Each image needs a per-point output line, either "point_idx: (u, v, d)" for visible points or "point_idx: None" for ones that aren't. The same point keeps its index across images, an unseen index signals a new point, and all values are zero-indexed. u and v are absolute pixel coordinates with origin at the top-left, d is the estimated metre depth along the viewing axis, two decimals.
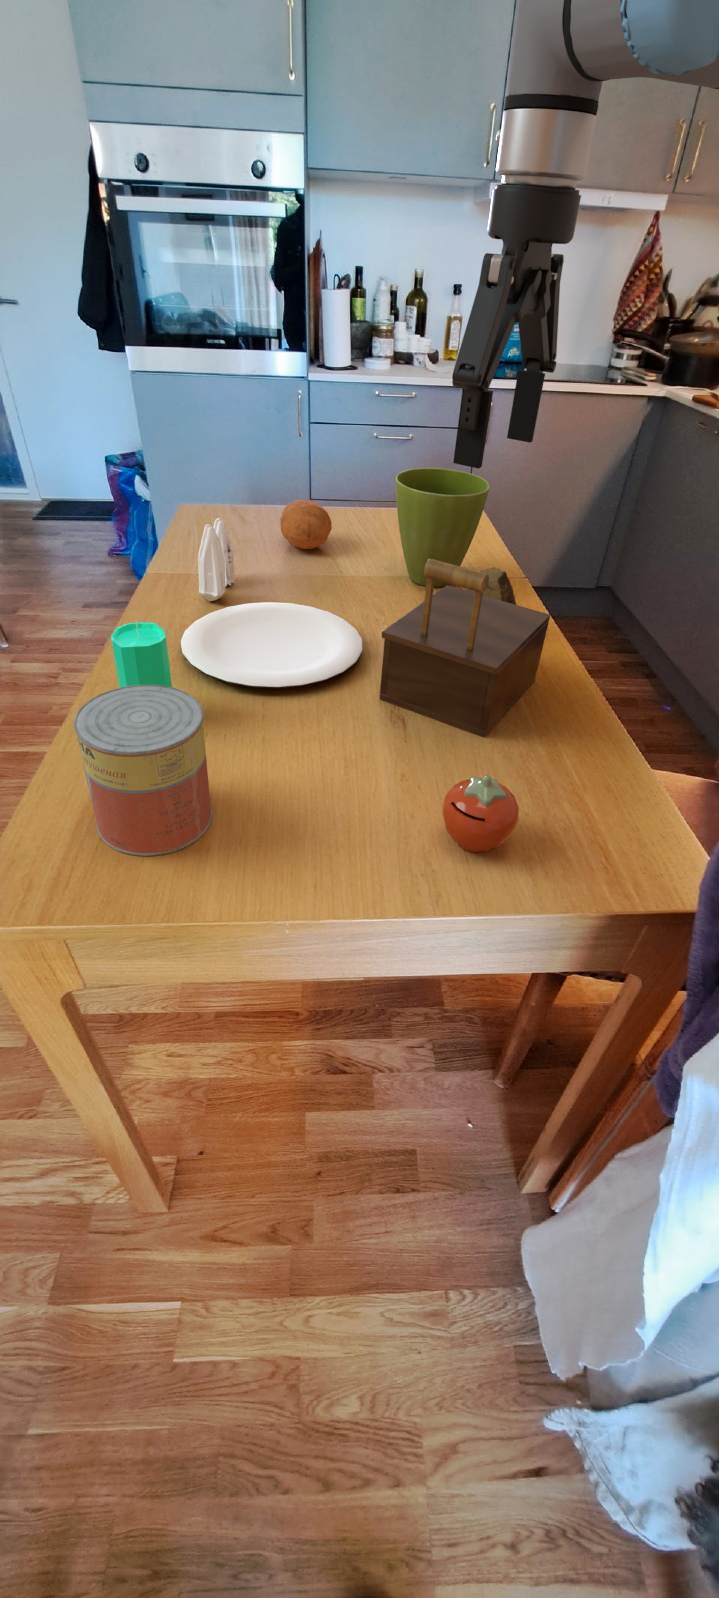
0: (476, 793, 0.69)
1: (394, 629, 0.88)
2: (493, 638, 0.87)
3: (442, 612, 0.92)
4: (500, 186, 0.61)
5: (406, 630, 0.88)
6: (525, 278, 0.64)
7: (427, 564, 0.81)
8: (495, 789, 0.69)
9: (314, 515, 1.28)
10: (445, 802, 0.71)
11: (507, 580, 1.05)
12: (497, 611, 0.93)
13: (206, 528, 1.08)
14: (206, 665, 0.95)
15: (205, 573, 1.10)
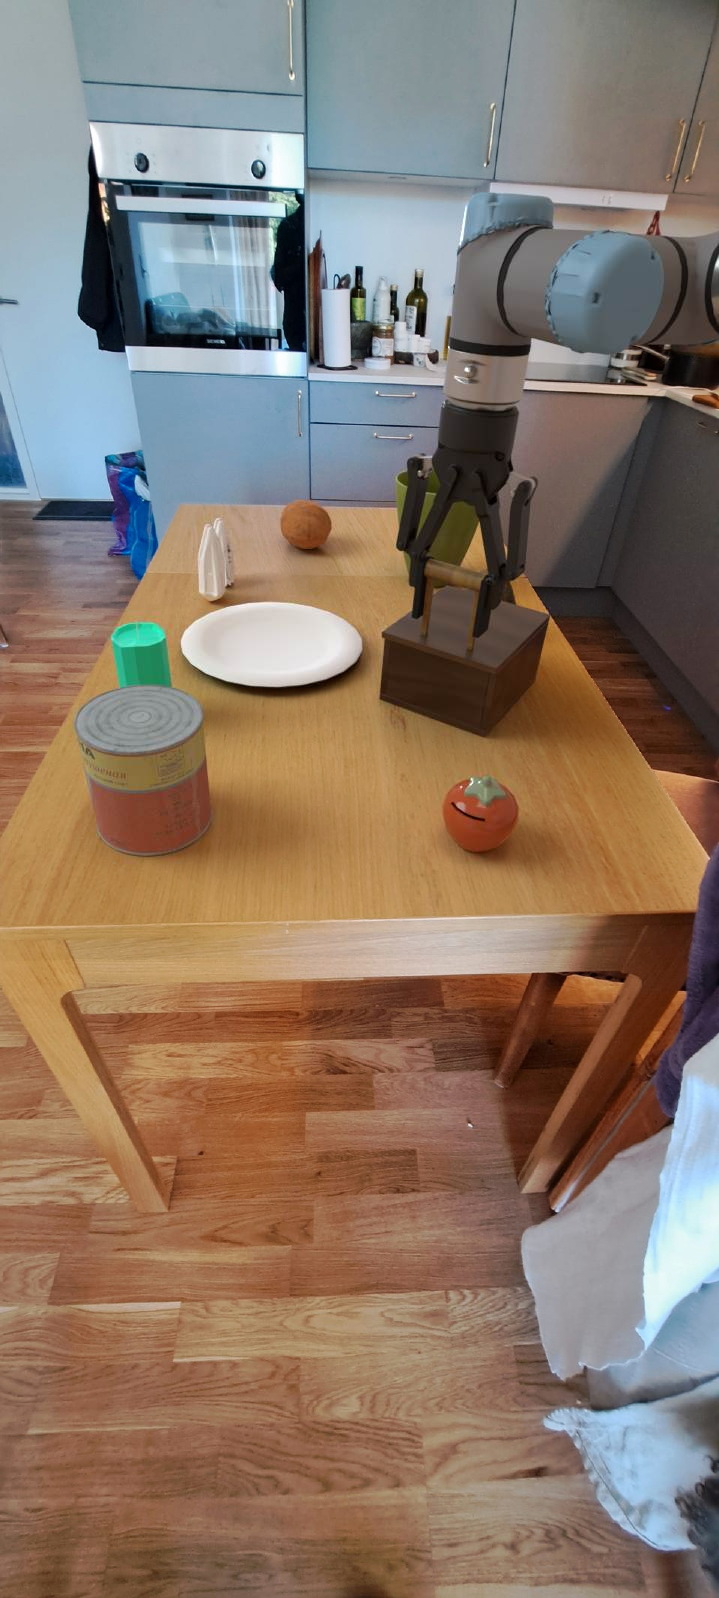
0: (476, 793, 0.69)
1: (394, 629, 0.88)
2: (493, 638, 0.87)
3: (442, 612, 0.92)
4: (497, 414, 0.68)
5: (406, 630, 0.88)
6: None
7: (427, 564, 0.81)
8: (495, 789, 0.69)
9: (314, 515, 1.28)
10: (445, 802, 0.71)
11: (507, 580, 1.05)
12: (497, 611, 0.93)
13: (206, 528, 1.08)
14: (206, 665, 0.95)
15: (205, 573, 1.10)
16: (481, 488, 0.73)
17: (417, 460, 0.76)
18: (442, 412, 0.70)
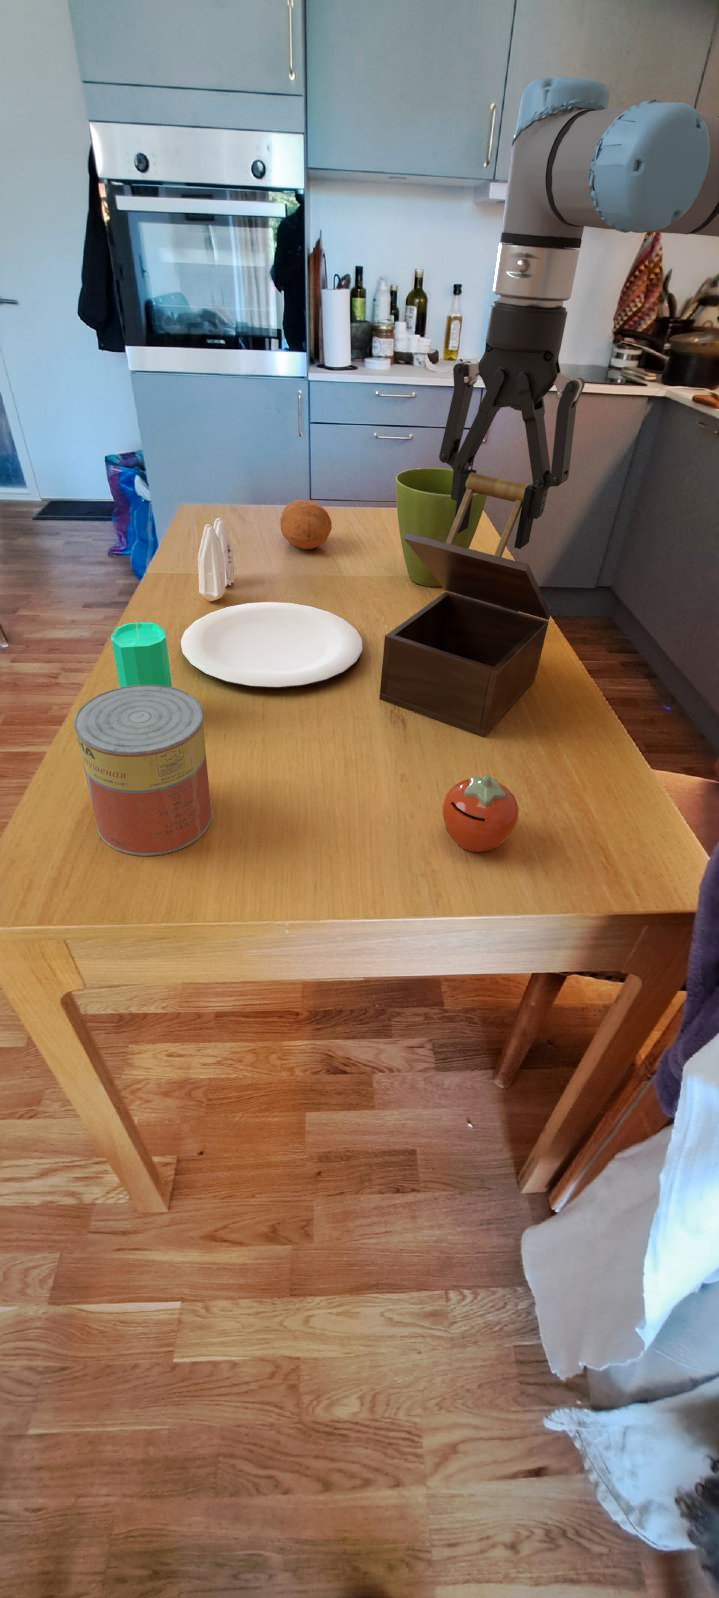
0: (476, 793, 0.69)
1: None
2: None
3: None
4: (548, 311, 0.69)
5: None
6: None
7: (471, 473, 0.83)
8: (495, 789, 0.69)
9: (314, 515, 1.28)
10: (445, 802, 0.71)
11: None
12: None
13: (206, 528, 1.08)
14: (206, 665, 0.95)
15: (205, 573, 1.10)
16: (528, 390, 0.74)
17: (463, 366, 0.77)
18: (492, 311, 0.71)
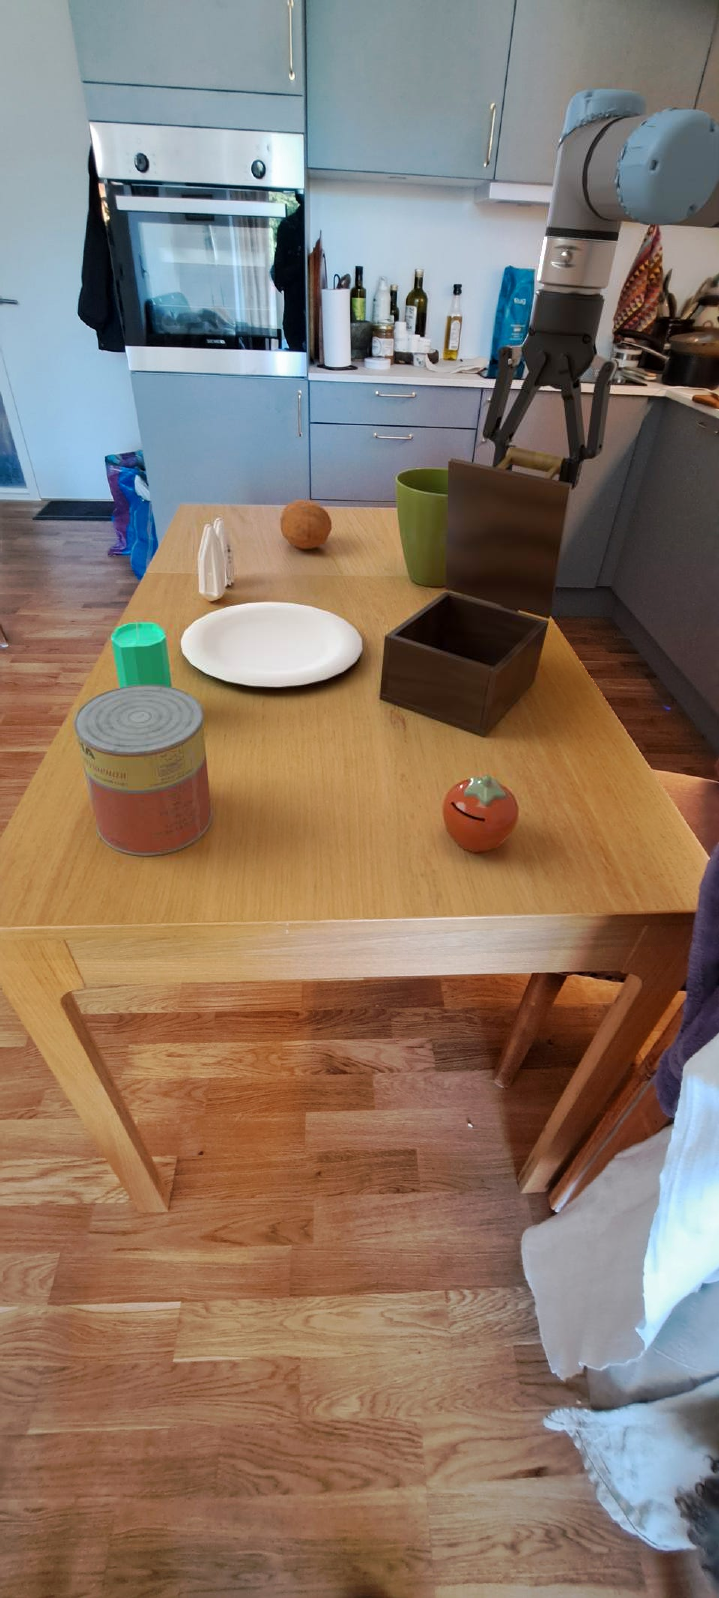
0: (476, 793, 0.69)
1: None
2: None
3: None
4: (588, 297, 0.77)
5: None
6: None
7: None
8: (495, 789, 0.69)
9: (314, 515, 1.28)
10: (445, 802, 0.71)
11: None
12: None
13: (206, 528, 1.08)
14: (206, 665, 0.95)
15: (205, 573, 1.10)
16: (568, 370, 0.82)
17: (508, 349, 0.85)
18: (536, 298, 0.79)
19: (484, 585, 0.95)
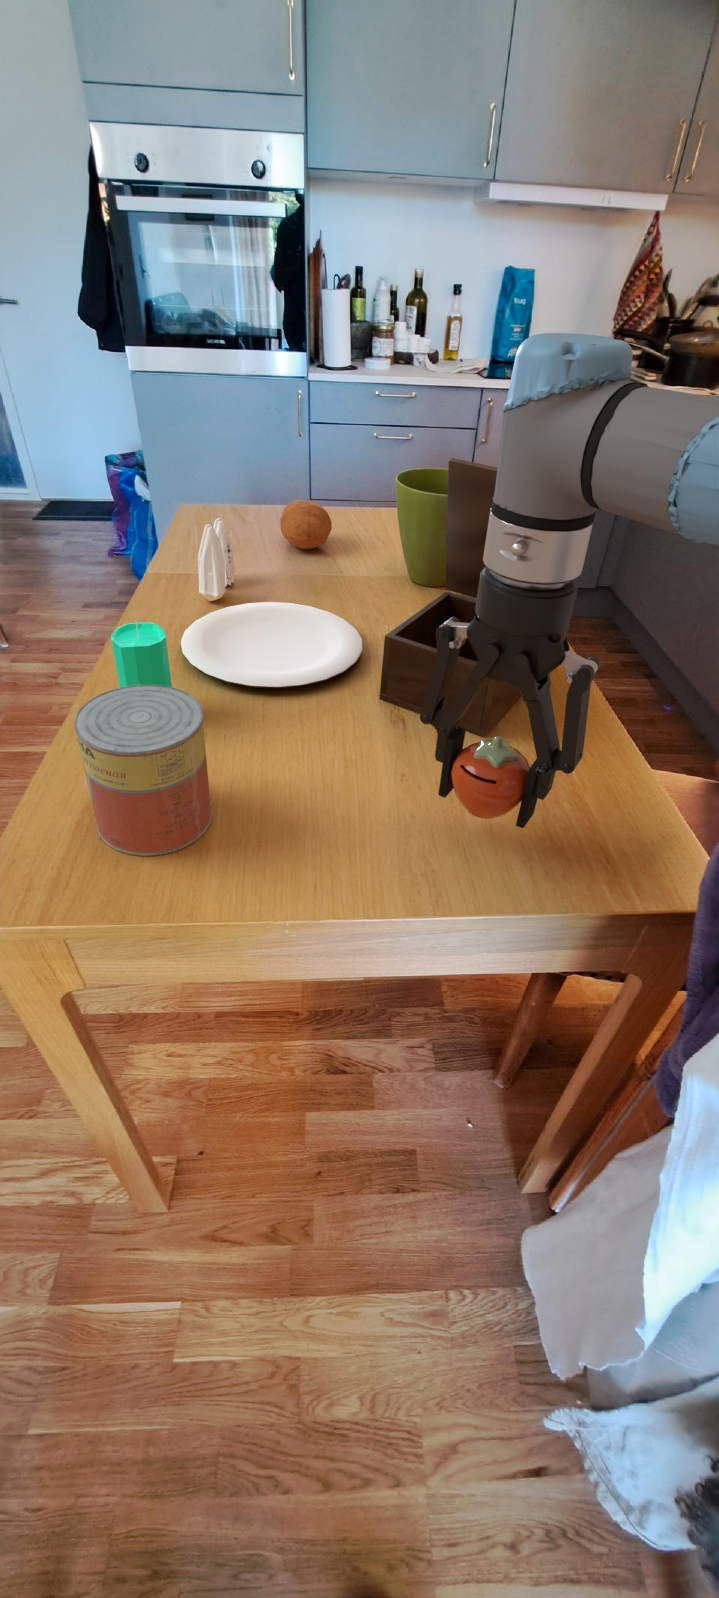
0: (487, 754, 0.66)
1: None
2: None
3: None
4: (553, 595, 0.54)
5: None
6: None
7: None
8: (507, 750, 0.66)
9: (314, 515, 1.28)
10: (454, 766, 0.68)
11: None
12: None
13: (206, 528, 1.08)
14: (206, 665, 0.95)
15: (205, 573, 1.10)
16: (530, 672, 0.59)
17: (448, 630, 0.62)
18: (482, 586, 0.56)
19: None
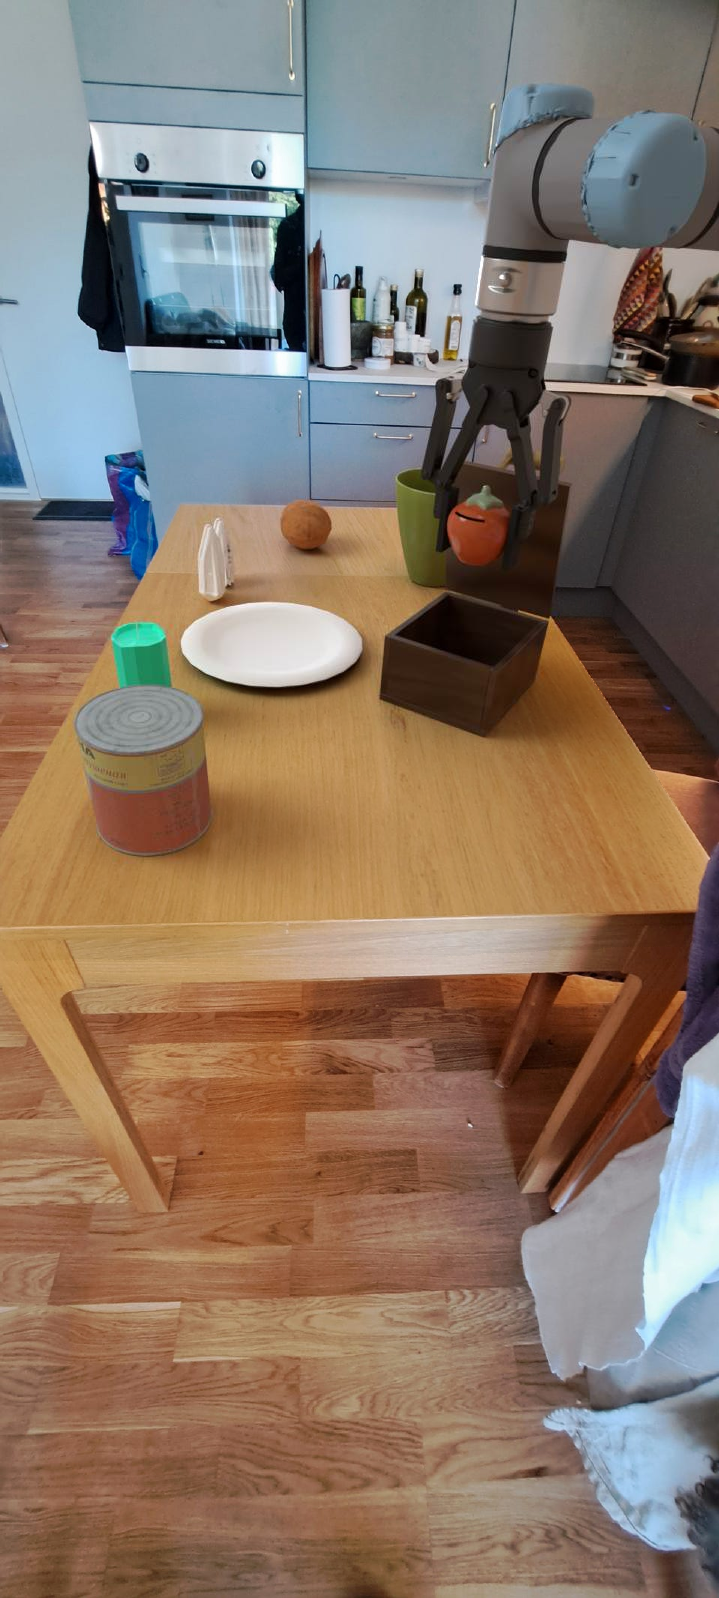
0: (477, 499, 0.78)
1: None
2: None
3: None
4: (532, 327, 0.66)
5: None
6: None
7: None
8: (494, 497, 0.78)
9: (314, 515, 1.28)
10: (449, 515, 0.80)
11: None
12: None
13: (206, 528, 1.08)
14: (206, 665, 0.95)
15: (205, 573, 1.10)
16: (513, 408, 0.71)
17: (446, 382, 0.74)
18: (474, 327, 0.68)
19: (484, 585, 0.95)
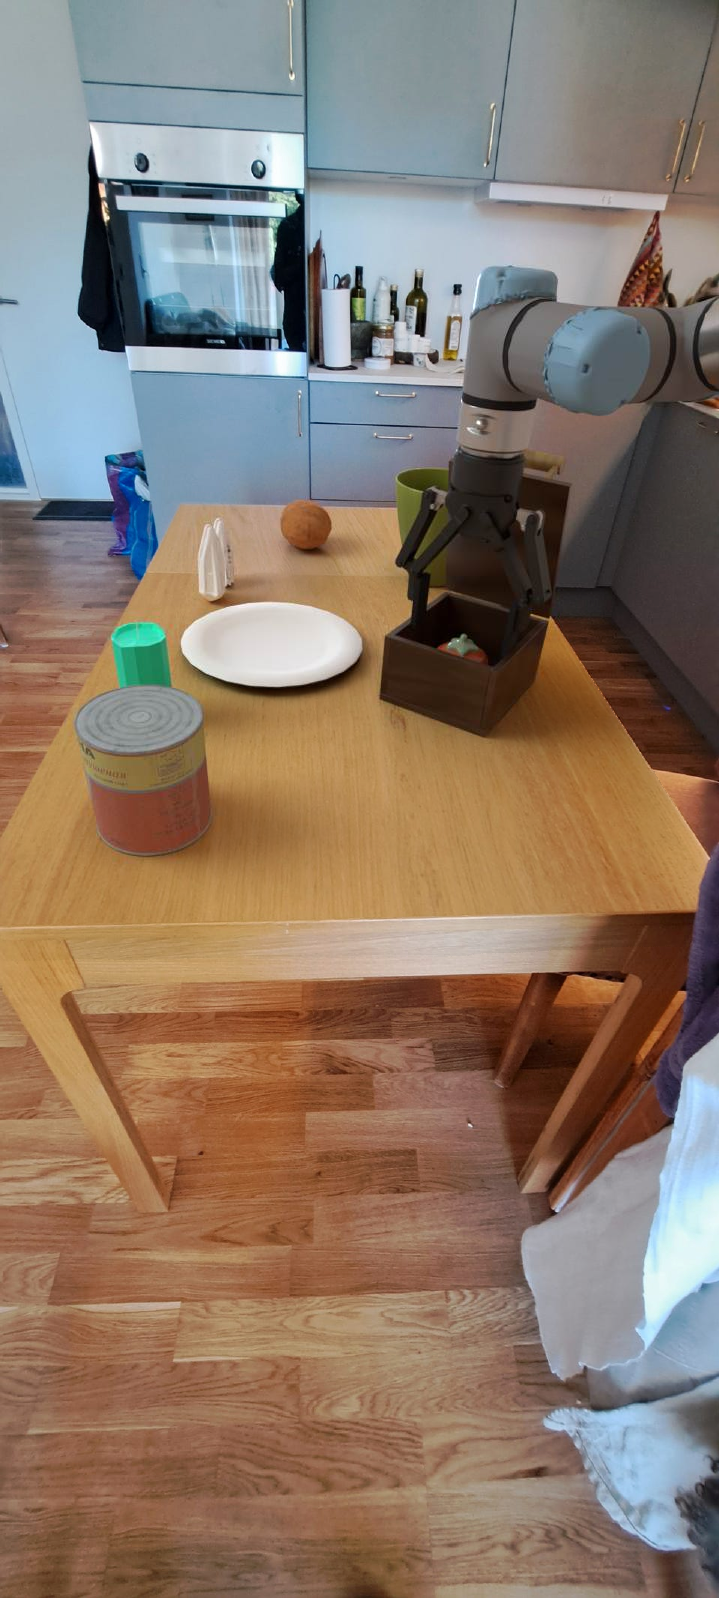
0: (456, 647, 0.90)
1: None
2: None
3: None
4: (506, 462, 0.74)
5: None
6: None
7: None
8: (470, 644, 0.90)
9: (314, 515, 1.28)
10: None
11: None
12: None
13: (206, 528, 1.08)
14: (206, 665, 0.95)
15: (205, 573, 1.10)
16: (491, 527, 0.79)
17: (432, 494, 0.82)
18: (455, 459, 0.77)
19: (484, 585, 0.95)
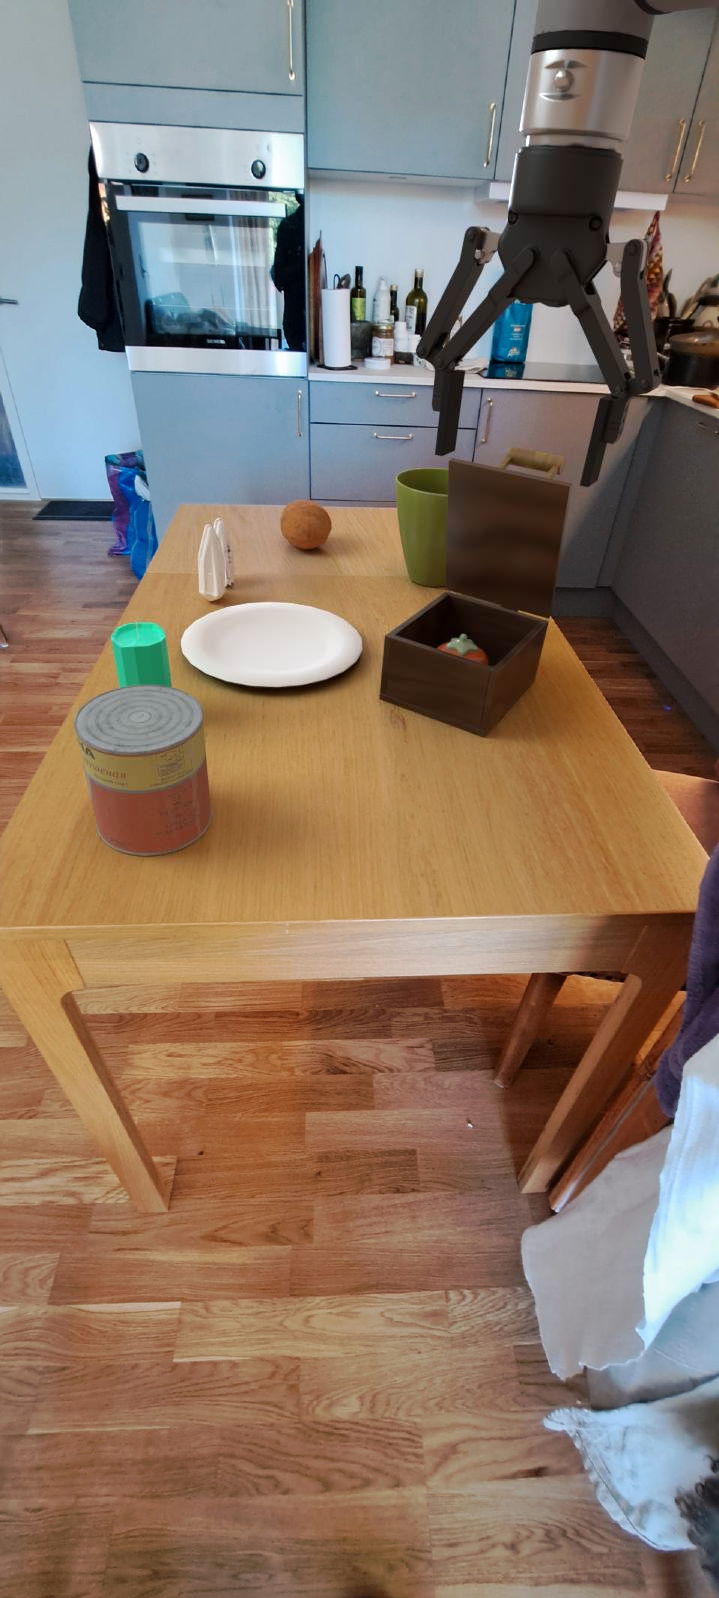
0: (455, 646, 0.90)
1: None
2: None
3: None
4: (598, 152, 0.49)
5: None
6: None
7: None
8: (470, 644, 0.90)
9: (314, 515, 1.28)
10: None
11: None
12: None
13: (206, 528, 1.08)
14: (206, 665, 0.95)
15: (205, 573, 1.10)
16: (567, 274, 0.54)
17: (479, 233, 0.56)
18: (518, 160, 0.51)
19: (484, 585, 0.95)
